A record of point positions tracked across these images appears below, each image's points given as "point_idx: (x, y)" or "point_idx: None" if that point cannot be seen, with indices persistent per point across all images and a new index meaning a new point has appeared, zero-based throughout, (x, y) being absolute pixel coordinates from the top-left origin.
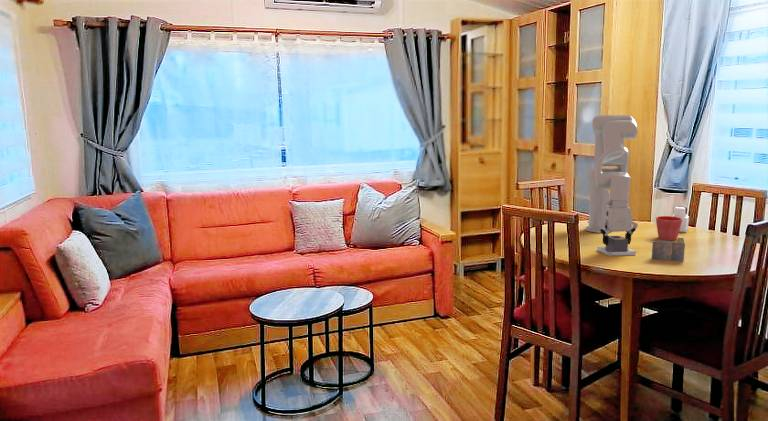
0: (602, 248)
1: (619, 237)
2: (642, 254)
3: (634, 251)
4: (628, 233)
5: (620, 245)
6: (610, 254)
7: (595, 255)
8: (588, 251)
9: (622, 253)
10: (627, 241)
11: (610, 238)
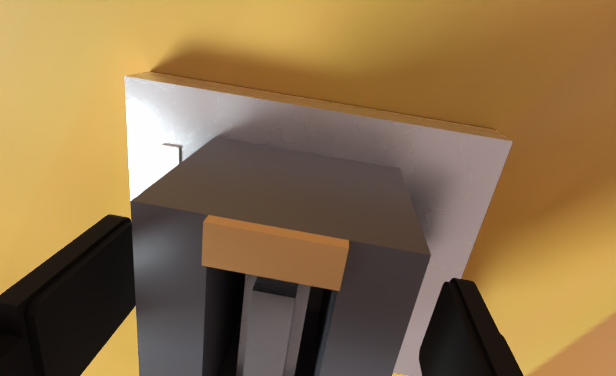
0: (419, 318)
1: (204, 361)
2: (64, 69)
3: (146, 79)
4: (3, 361)
5: (306, 180)
6: (474, 130)
7: (609, 204)
8: (525, 349)
9: (313, 104)
10: (165, 185)
11: (391, 370)
